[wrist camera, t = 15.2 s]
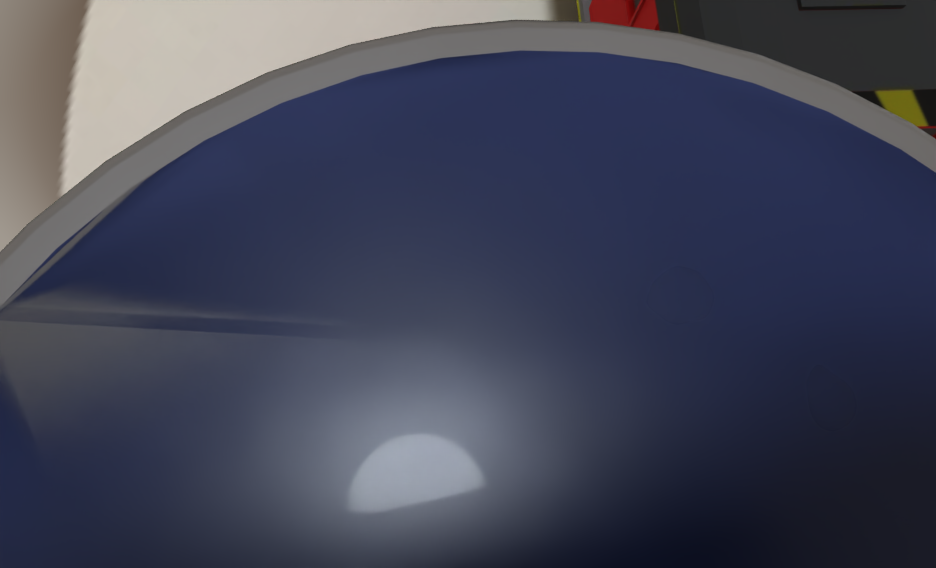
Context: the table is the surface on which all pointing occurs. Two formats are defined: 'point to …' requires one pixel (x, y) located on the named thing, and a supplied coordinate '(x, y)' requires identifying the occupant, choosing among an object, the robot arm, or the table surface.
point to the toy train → (811, 40)
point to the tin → (484, 319)
